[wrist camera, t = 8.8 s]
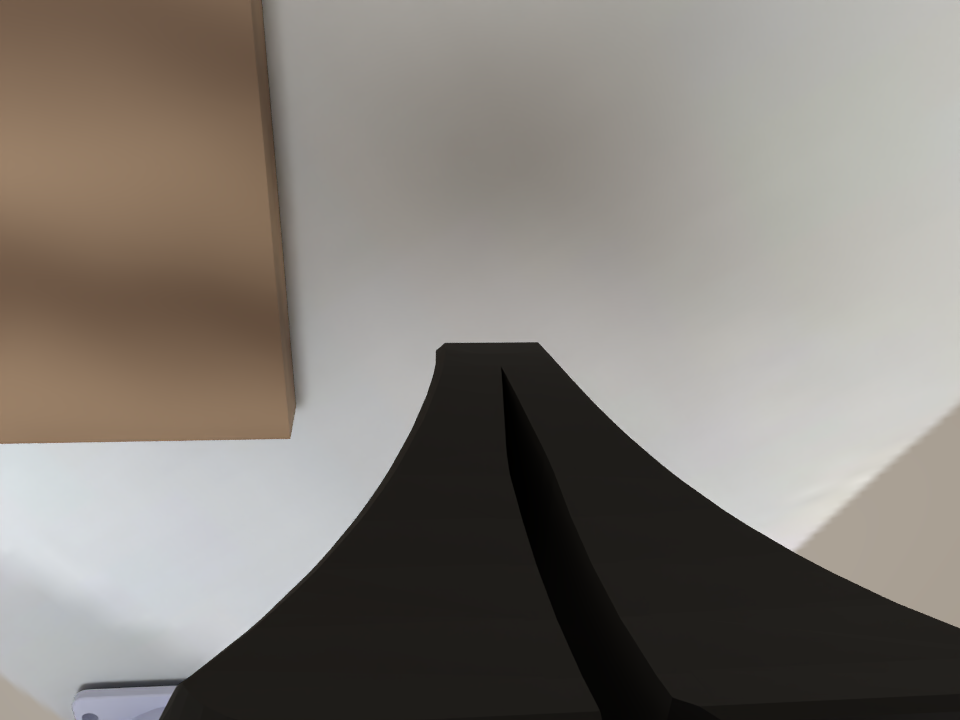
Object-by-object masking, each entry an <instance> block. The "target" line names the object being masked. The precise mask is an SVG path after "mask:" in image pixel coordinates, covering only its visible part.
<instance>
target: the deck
mask: <svg viewBox="0 0 960 720" xmlns="http://www.w3.org/2000/svg"><path fill="white" fill-rule="evenodd" d="M295 409H296V401H295V389H294V377H293V365H292V354H291V342H290V330H289V318H288V306H287V294H286V283H285V271H284V259H283V247H282V235H281V224H280V212H279V200H278V188H277V176H276V164H275V153H274V141H273V129H272V117H271V105H270V93H269V82H268V70H267V58H266V46H265V34H264V22H263V11H262V0H0V444H11V443H70V442H129V441H187V440H246V439H290V437H291V432H292V426H293V420H294V414H295Z"/></svg>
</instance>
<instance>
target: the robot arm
mask: <svg viewBox="0 0 960 720" xmlns="http://www.w3.org/2000/svg"><path fill="white" fill-rule="evenodd" d="M72 710H73V713H74V716H75V719H76V720H960V628H958V627H955V626H953V625H950V624H948V623H945V622H943V621H940V620H937V619H935V618H933V617H930V616H927V615H925V614H923V613H920V612H918V611H915V610H913V609H910V608H907V607H905V606H903V605H900V604H898V603H896V602H893V601H891V600H889V599H886V598H884V597H882V596H880V595H878V594H876V593H874V592H872V591H870V590H868V589H865V588H863V587H861V586H859V585H857V584H855V583H853V582H851V581H849V580H847V579H845V578H842V577H840V576H838V575H836V574H834V573H832V572H830V571H828V570H826V569H824V568H822V567H821V566H819V565H816V564H815V563H813V562H811V561H809V560H807V559H805V558H803V557H801V556H800V555H798V554H796V553H794V552H792V551H791V550H789V549H787V548H785V547H784V546H782V545H780V544H779V543H777V542H775V541H773V540H772V539H770V538H768V537H767V536H765V535H763V534H762V533H760V532H758V531H756V530H755V529H753V528H751V527H750V526H748V525H746V524H745V523H743V522H742V521H740V520H738V519H737V518H735V517H734V516H732V515H731V514H729V513H727V512H726V511H724V510H723V509H721V508H720V507H718V506H717V505H716V504H714V503H713V502H711V501H710V500H709V499H707V498H706V497H704V496H703V495H702V494H700V493H699V492H697V491H696V490H695V489H693V488H692V487H690V486H689V485H687V484H686V483H685V482H683V481H682V480H681V479H679V478H678V477H677V476H675V475H674V474H673V473H672V472H670V471H669V470H668V469H666V468H665V467H664V466H663V465H661V464H660V463H659V462H658V461H657V460H656V459H654V458H653V457H652V456H651V455H650V454H648V453H647V452H646V451H645V450H644V449H643V448H641V447H640V446H639V445H638V444H637V443H636V442H634V441H633V440H632V439H631V438H630V437H629V436H628V435H627V434H625V433H624V432H623V431H622V430H621V429H620V428H619V427H618V426H617V425H616V424H615V423H614V422H613V421H612V420H611V419H610V418H609V417H608V416H607V415H606V414H605V413H604V412H603V411H602V410H601V409H600V408H599V407H597V405H596V404H595V403H594V402H593V401H592V400H591V399H590V398H589V397H588V396H587V395H586V394H585V393H584V392H583V391H582V390H581V389H580V388H579V387H578V385H577V384H576V383H575V382H574V381H573V380H572V379H571V378H570V377H569V376H568V375H567V373H566V372H565V371H564V370H563V369H562V368H561V367H560V366H559V365H558V364H557V362H556V361H555V360H554V359H553V358H552V357H551V356H550V355H549V354H548V353H547V352H546V350H545V349H544V348H543V347H542V346H541V345H540V344H539V343H538V342H527V343H444V344H443V345H442V346H441V347H440V348H439V349H438V350H436V365H435V370H434V374H433V378H432V381H431V384H430V387H429V390H428V393H427V396H426V398H425V401H424V403H423V405H422V407H421V410H420V412H419V414H418V417H417V419H416V421H415V424H414V426H413V428H412V430H411V432H410V434H409V436H408V438H407V439H406V441H405V443H404V445H403V447H402V448H401V450H400V452H399V454H398V456H397V457H396V459H395V461H394V463H393V464H392V466H391V468H390V470H389V471H388V473H387V475H386V476H385V478H384V479H383V481H382V482H381V484H380V485H379V487H378V488H377V490H376V491H375V493H374V494H373V496H372V497H371V499H370V500H369V501H368V503H367V504H366V505H365V507H364V508H363V510H362V511H361V512H360V514H359V515H358V516H357V518H356V519H355V520H354V522H353V523H352V524H351V525H350V526H349V528H348V529H347V530H346V531H345V532H344V534H343V535H342V536H341V537H340V539H339V540H338V541H337V542H336V543H335V545H334V546H333V547H332V548H331V549H330V551H329V552H328V553H327V554H326V555H325V556H324V557H323V558H322V560H321V561H320V562H319V563H318V564H317V565H316V566H315V567H314V568H313V569H312V570H311V571H310V572H309V573H308V574H307V575H306V576H305V577H304V578H303V579H302V580H301V581H300V582H299V583H298V584H297V585H296V586H295V587H294V588H293V589H292V590H291V591H290V592H289V593H288V594H287V595H286V596H285V597H284V598H283V599H282V600H280V601H279V602H278V603H277V604H276V605H275V606H274V607H273V608H272V609H271V610H270V611H269V612H268V613H267V614H266V615H265V616H264V617H263V618H262V619H261V620H259V621H258V622H257V623H256V624H255V625H254V626H253V627H251V628H250V629H249V630H248V631H247V632H246V633H244V634H243V635H242V636H241V637H239V638H238V639H237V640H236V641H234V642H233V643H232V644H230V645H229V646H228V647H227V648H225V649H224V650H223V651H222V652H220V653H219V654H218V655H217V656H215V657H214V658H213V659H212V660H210V661H209V662H208V663H207V664H205V665H204V666H203V667H201V668H200V669H199V670H198V671H196V672H195V673H194V674H193V675H191V676H190V677H188V678H187V679H186V680H184V681H183V682H181V683H180V684H179V685H177V686H154V687H131V688H108V689H87V690H82V691H80V692H78V693H77V694H76V695H75V697H74V700H73V703H72Z"/></svg>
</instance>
